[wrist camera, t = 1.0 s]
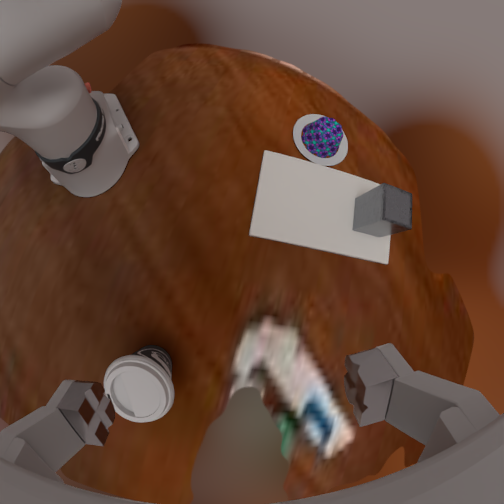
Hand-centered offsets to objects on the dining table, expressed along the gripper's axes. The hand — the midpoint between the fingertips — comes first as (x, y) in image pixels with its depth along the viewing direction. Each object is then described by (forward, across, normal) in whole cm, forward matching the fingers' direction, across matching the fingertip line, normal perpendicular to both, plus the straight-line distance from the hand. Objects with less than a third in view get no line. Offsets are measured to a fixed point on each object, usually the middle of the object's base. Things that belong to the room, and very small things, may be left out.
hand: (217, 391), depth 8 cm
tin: (+44, -25, +6) cm, 51 cm away
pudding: (+51, -19, -10) cm, 55 cm away
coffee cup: (+31, +18, +22) cm, 42 cm away
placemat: (+45, -17, +3) cm, 48 cm away
